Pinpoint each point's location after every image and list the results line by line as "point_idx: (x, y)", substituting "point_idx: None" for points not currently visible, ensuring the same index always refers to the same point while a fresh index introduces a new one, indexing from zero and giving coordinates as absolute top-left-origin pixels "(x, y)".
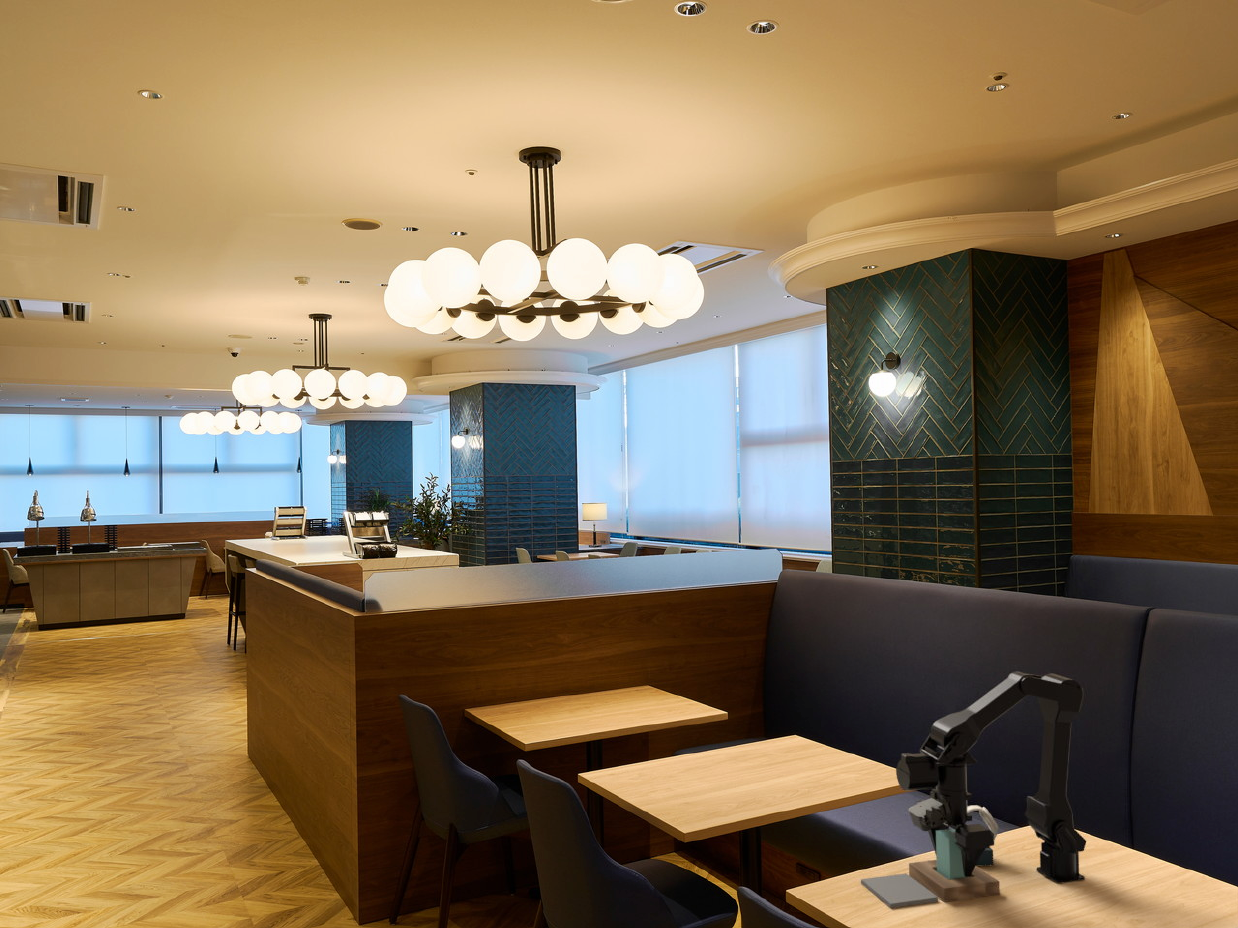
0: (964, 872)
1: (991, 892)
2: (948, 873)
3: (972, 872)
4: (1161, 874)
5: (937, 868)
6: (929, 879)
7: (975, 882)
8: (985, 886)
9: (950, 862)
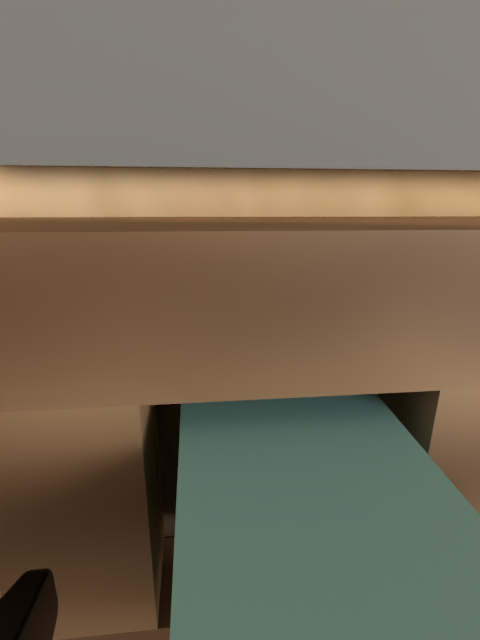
0: (16, 602)
1: None
2: (202, 455)
3: None
4: None
5: (391, 427)
6: (229, 228)
7: None
8: None
9: (173, 588)
